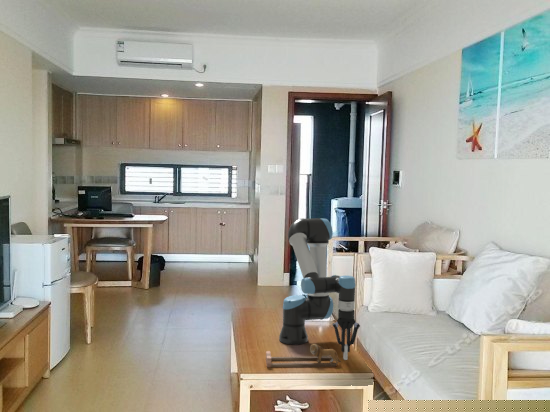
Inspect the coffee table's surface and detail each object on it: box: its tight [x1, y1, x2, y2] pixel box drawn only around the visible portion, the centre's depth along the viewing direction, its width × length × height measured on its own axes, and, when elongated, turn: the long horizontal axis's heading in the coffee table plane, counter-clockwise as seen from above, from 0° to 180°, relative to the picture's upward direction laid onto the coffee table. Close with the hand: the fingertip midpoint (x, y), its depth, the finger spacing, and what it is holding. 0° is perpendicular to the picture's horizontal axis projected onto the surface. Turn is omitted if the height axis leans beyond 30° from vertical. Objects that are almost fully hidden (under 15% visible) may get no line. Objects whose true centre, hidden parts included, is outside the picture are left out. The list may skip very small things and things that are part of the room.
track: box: [265, 350, 337, 368], centre depth 249 cm, size 10×32×4 cm, turn 94°
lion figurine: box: [309, 343, 342, 366], centre depth 250 cm, size 15×5×9 cm, turn 91°
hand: (345, 358), depth 251 cm, fingers closed
